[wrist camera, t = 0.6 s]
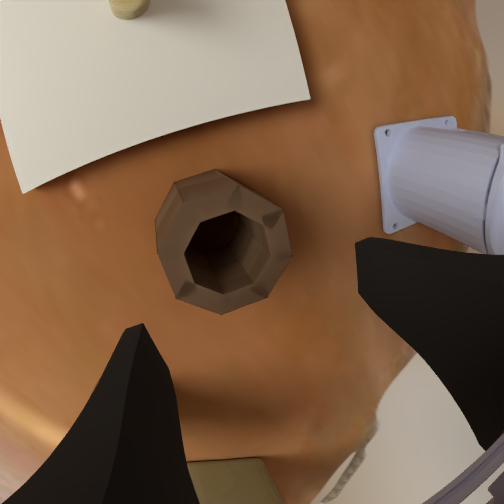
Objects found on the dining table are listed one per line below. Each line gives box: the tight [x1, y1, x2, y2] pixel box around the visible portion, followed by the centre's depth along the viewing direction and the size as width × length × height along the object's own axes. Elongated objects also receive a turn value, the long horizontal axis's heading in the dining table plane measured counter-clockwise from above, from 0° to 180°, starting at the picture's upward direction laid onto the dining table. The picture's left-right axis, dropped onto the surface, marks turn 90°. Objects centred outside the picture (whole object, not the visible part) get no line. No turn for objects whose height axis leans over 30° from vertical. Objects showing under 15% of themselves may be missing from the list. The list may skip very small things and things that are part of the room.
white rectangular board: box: [0, 0, 310, 194], centre depth 12 cm, size 16×13×2 cm
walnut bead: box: [155, 169, 293, 315], centre depth 16 cm, size 6×6×5 cm
